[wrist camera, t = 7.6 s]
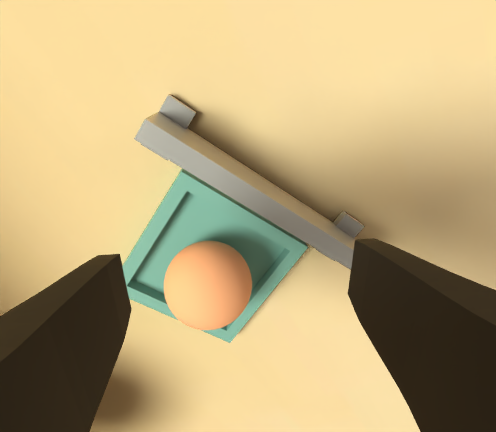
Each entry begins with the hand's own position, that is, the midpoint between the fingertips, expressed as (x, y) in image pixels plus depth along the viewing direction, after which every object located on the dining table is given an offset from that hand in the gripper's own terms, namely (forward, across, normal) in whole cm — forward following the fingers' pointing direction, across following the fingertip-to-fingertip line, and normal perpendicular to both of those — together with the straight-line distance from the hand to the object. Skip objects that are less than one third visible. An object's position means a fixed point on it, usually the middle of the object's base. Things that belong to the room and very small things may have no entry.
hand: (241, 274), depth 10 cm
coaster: (+10, +2, +5) cm, 11 cm away
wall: (+10, -2, 0) cm, 10 cm away
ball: (+9, +2, +5) cm, 11 cm away
